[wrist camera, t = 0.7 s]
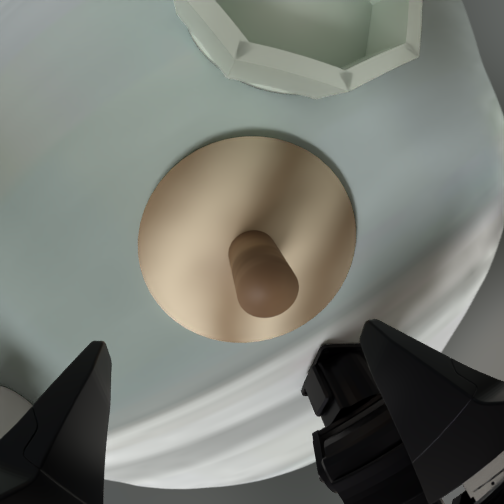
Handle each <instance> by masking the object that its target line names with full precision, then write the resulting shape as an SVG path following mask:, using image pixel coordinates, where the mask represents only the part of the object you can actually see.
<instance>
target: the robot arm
mask: <svg viewBox="0 0 504 504" xmlns="http://www.w3.org/2000/svg"><path fill="white" fill-rule="evenodd" d="M111 369H112V363H111V358H110V355H109V352H108V349H107V346H106V343H105V342H104V341H92V342H91V343H90V344H89V345H88V346H87V347H86V348H85V349H84V350H83V351H82V352H81V353H80V354H79V355H78V357H77V358H76V359H75V360H74V361H73V362H72V363H71V364H70V365H69V366H68V367H67V368H66V369H65V370H64V371H63V372H62V374H61V375H60V376H59V377H58V378H57V379H56V380H55V381H54V382H53V383H52V384H51V385H50V387H49V388H48V389H47V390H46V391H45V392H44V393H43V394H42V395H41V396H40V398H39V399H38V400H37V401H36V402H35V403H34V404H33V407H31V408H30V409H29V410H28V411H27V412H26V413H25V414H24V416H23V417H22V418H21V419H20V420H19V421H18V422H17V423H16V424H15V425H14V426H13V427H12V428H11V429H10V430H9V431H8V432H7V433H6V434H5V435H4V436H3V437H2V438H1V439H0V504H103V492H104V491H103V490H104V468H105V453H106V441H107V431H108V422H109V413H110V401H111ZM301 392H302V395H303V396H308V397H309V400H310V402H311V405H312V407H313V410H314V412H315V414H316V415H317V416H321V418H322V420H323V423H324V425H325V428H323V429H321V430H319V431H318V430H317V431H315V432H313V433H312V436H313V446H314V452H315V458H316V464H317V470H318V474H319V479H320V481H321V482H323V483H325V484H326V485H327V487H328V488H329V489H330V490H331V491H332V492H334V493H338V494H339V496H340V497H341V499H342V500H343V502H344V504H445V503H444V502H443V500H442V497H444V496H445V495H447V494H448V493H450V492H451V491H453V490H454V489H456V488H457V487H459V486H460V485H462V484H463V486H464V487H465V489H466V490H465V491H464V492H463V493H462V494H460V495H459V496H457V497H456V498H455V499H453V501H452V504H504V381H501V380H498V379H495V378H493V377H491V376H488V375H486V374H484V373H481V372H479V371H477V370H474V369H472V368H470V367H468V366H466V365H464V364H462V363H460V362H458V361H456V360H454V359H452V358H451V359H450V357H448V356H446V355H444V354H442V353H440V352H439V351H437V350H435V349H433V348H431V347H429V346H427V345H425V344H423V343H421V342H419V341H417V340H416V339H414V338H412V337H410V336H408V335H406V334H404V333H402V332H400V331H398V330H396V329H395V328H393V327H391V326H389V325H387V324H385V323H383V322H381V321H379V320H377V319H373V320H368V321H366V322H365V324H364V327H363V330H362V333H361V336H360V344H335V345H323V346H322V347H321V348H320V349H319V352H318V354H317V356H316V359H315V361H314V363H313V365H312V367H311V368H310V371H309V373H308V375H307V378H306V380H305V382H304V386H303V388H302V390H301Z"/></svg>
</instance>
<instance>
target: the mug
mask: <svg viewBox="0 0 504 504" xmlns="http://www.w3.org/2000/svg"><path fill="white" fill-rule="evenodd" d="M31 407H33V405H32V404H31V403H30V402H29V401H27V400H26V399H25V398H24V397H22V396H21V395H19V394H18V393H16V392H14V391H12V390H11V389H8V388H6V387H3V386H0V439H1V438H2V437H3V436H4V435H5V434H6V433H7V432H8V431H9V430H10V429H11V428H12V427H13V426H14V425H15V424H16V423H17V422H18V421H19V420H20V419H21V418H22V417H23V416H24V414H25V413H26V412H27V411H28V410H29V409H30V408H31Z"/></svg>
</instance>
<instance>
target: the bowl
mask: <svg viewBox="0 0 504 504" xmlns="http://www.w3.org/2000/svg"><path fill="white" fill-rule="evenodd" d="M174 5H175V10H176V14H177V16H178V17H179V18H180V19H181V21H182V22H183V23H184V24H185V25H186V27H187V28H188V31H189V33H190V35H191V37H192V39H193V41H194V42H195V44H196V45H197V47H198V48H199V50H200V51H201V52H202V53H203V54H204V55H205V56H206V57H207V59H208V60H209V61H211V62H212V63H213V64H214V65H215V66H216V67H218V68H219V69H220V70H221V71H222V73H223V74H224V75H225V77H226V78H227V79H233V80H238V81H240V82H242V83H245V84H247V85H250V86H252V87H255V88H258V89H261V90H265V91H268V92H274V93H280V94H290V95H302V96H306V97H309V98H312V99H319V98H323V97H328V96H332V95H336V94H341V93H346V92H350V91H352V90H353V89H355V88H357V87H359V86H361V85H363V84H365V83H367V82H369V81H371V80H372V79H374V78H376V77H378V76H380V75H382V74H384V73H386V72H388V71H390V70H392V69H394V68H397V67H399V66H401V65H403V64H405V63H407V62H409V61H411V60H414V59H416V58H418V57H419V51H420V40H421V25H422V0H174Z"/></svg>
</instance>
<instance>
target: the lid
mask: <svg viewBox="0 0 504 504" xmlns="http://www.w3.org/2000/svg"><path fill="white" fill-rule="evenodd" d="M355 243H356V225H355V217H354V212H353V209H352V205H351V202H350V199H349V197H348V195H347V192H346V190H345V188H344V187H343V185H342V184H341V182H340V180H339V179H338V177H337V176H336V175H335V174H334V173H333V171H332V170H331V169H330V168H329V167H328V166H327V165H326V164H325V163H324V162H322V161H321V160H320V159H319V158H318V157H316V156H315V155H313V154H312V153H310V152H309V151H307V150H305V149H303V148H301V147H299V146H297V145H295V144H292V143H289V142H286V141H283V140H279V139H274V138H268V137H260V136H243V137H236V138H229V139H225V140H221V141H218V142H215V143H211V144H209V145H207V146H205V147H203V148H200V149H198V150H196V151H195V152H193V153H191V154H190V155H188V156H187V157H185V158H184V159H182V160H181V161H180V162H179V163H178V164H177V165H175V166H174V167H173V168H172V169H171V170H170V171H169V172H168V173H167V174H166V176H165V177H164V178H163V179H162V180H161V181H160V182H159V184H158V185H157V187H156V189H155V190H154V192H153V193H152V195H151V196H150V199H149V201H148V203H147V205H146V207H145V210H144V213H143V216H142V220H141V223H140V228H139V236H138V255H139V262H140V267H141V271H142V274H143V277H144V280H145V282H146V284H147V287H148V289H149V291H150V293H151V294H152V296H153V297H154V299H155V300H156V302H157V303H158V304H159V305H160V307H161V308H162V309H163V310H164V311H165V312H166V313H167V314H168V315H169V316H170V317H171V318H172V319H174V320H175V321H176V322H178V323H179V324H181V325H182V326H183V327H185V328H187V329H189V330H191V331H193V332H195V333H197V334H199V335H202V336H205V337H207V338H211V339H215V340H219V341H225V342H237V343H247V342H257V341H263V340H267V339H272V338H275V337H278V336H281V335H284V334H286V333H288V332H291V331H293V330H295V329H297V328H298V327H300V326H302V325H304V324H305V323H307V322H308V321H309V320H311V319H312V318H314V317H315V316H316V315H317V314H318V313H319V312H321V311H322V310H323V309H324V308H325V307H326V306H327V305H328V303H329V302H330V301H331V300H332V299H333V298H334V296H335V295H336V293H337V292H338V291H339V289H340V288H341V286H342V284H343V282H344V280H345V279H346V276H347V274H348V272H349V269H350V267H351V263H352V260H353V256H354V251H355Z"/></svg>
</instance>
